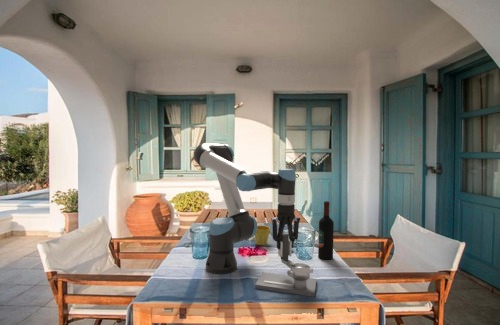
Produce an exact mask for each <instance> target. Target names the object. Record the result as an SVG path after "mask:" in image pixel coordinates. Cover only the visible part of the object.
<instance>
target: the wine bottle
mask: <svg viewBox="0 0 500 325" xmlns="http://www.w3.org/2000/svg"><path fill="white" fill-rule="evenodd" d="M334 227H335V226H334V220H333V218H331V217H330V201H324V202H323V216H322V217H321V218H320V219H319V222H318V241H317V242H318V246H317V247H318V248H317V249H318V250H317V256H318V259H319V260H321V261H324V262H325V261H326V262H327V261H328V262H329V261H333V259H334V231H335V230H334Z"/></svg>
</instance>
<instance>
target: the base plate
mask: <svg viewBox="0 0 500 325" xmlns="http://www.w3.org/2000/svg"><path fill="white" fill-rule="evenodd" d="M254 285H255V286H254V288H255V289H258V290H266V291H272V292H278V293H279V292H280V293H287V294H294V295H299V296H307V297H308V296H309V297H315V295H316V289H317V288H316V287H317V278H314V277H310V278H309V279H308V280H305V281H300V280H295V279H293V278H292V277H290V276H289V275H287V274H281V273H274V272H272V273H271V272H264V271H262V272H261V274H260V276H259V278H258V280H257V281H256V283H255V284H254Z"/></svg>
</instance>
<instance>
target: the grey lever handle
mask: <svg viewBox="0 0 500 325" xmlns="http://www.w3.org/2000/svg"><path fill="white" fill-rule="evenodd" d="M289 240H290V239H289V234H288V232H283V234H282V239H281V242H283V251H282V257H280V260H281V263H282V264H284V265H285V266H287V267H288V268H290V269H289V270H287V272H286V273H287V274H286V275H289V276H290V277H292V278H293V279H295V280H300V281H305V280H308V279H309V278H311V274H313V273H314V268H313V267H311V266H309V265H308V264H306V263H301V262H298V263H297V262H296V263H294V262H293V261H292V260H290V259H289V255H288V248H289Z"/></svg>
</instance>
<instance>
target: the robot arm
mask: <svg viewBox="0 0 500 325" xmlns="http://www.w3.org/2000/svg"><path fill="white" fill-rule="evenodd" d="M234 157H235V153H234V150H233V148H232V147H231V146H230V145H229V144H226V143H222V142H221V143H210V142H209V143H207V142H204V143H201V144H198V145H197V146H196V147H195V149H194V151H193V158H194V159H193V160H194V161H195V163H196V164H197V165H198V166H200V167H202V168H204V169H209V170H212V171H213V172H215V174H216V176H217V180H218V183H219V188H220V190H221V193H222V196H223V199H224V203H225V205H226V209H227V212H228V215H227V216H223V217H218V218H215V219H213V220H212V221H211V222H210V223H209V230H208V233H209V238H208V239H209V243H208V244H209V246H208V248H209V253H208V256H207V258H206V262H205V270H206V271H207V272H209V273H211V274H215V275H216V274H217V275H224V274H225V275H226V274H229V273H232V272H235V271H236V270H238V262H237V261H238V260H237V259H236V258H237V257H236V255H235V251H234V250H235V249H234V245H235V244H236V243H240V242H243V241H247V240H250V239H252V238H254V237H255V234H256V231H257V226H258V222H257V219H256V218H255V217H254V216H253V215H250V212H249V210H247V209H246V208H245V206H244V203H243V201H242V196H241V195H240V191H241V192H253V191H258V190H265V189H273V190H277V203H278V204H277V214H276V217H272V218H270V221H271V223H272V239H273V240H272V241H274V242H276V249H277V250H278V252H277V253H278V256H279V258H281V257H282V251H283V242H281V239H282V234H283V233H284V229H285V226H287V234H289V248H288V257H292V251H293V250H292V249H293V248H294V242H295V241H296V240H298V238H299V227H300V225H299V224H300V221H301V218H300V217H299V216H296V215H295V211H296V210H295V208H296V205H295V202H296V180H297V178H296V170H295V169H293V168H279V169H278V172H274V171H268V170H265V171H264V170H262V171H261V170H260V171H259V172H251V171H249V170H247V169H245V168H243V167H241V166H239V165H238V164H236V163H233V161H234V159H235V158H234ZM293 221H294V222H293Z"/></svg>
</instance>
